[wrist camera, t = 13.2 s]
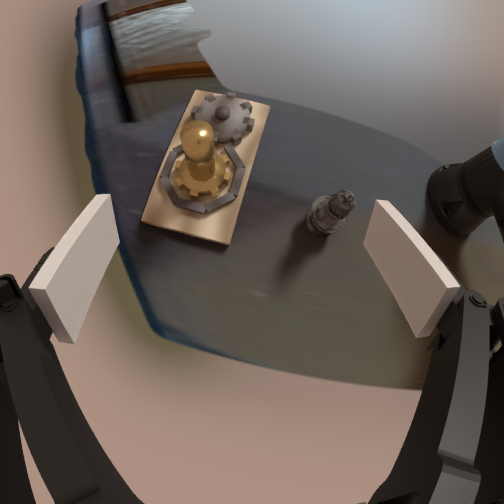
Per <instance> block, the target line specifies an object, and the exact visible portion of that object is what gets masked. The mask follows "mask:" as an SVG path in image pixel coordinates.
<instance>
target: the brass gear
mask: <svg viewBox="0 0 504 504" xmlns="http://www.w3.org/2000/svg"><path fill="white" fill-rule="evenodd" d="M180 140H181V144H182V148H183V151H184V155H185V158H184V159H183V160H182V161H179V160H177V161H176V164H175V166H174V168H175V170H176V172H179V176H180V177H179V178H177V179H175V181H176V184H177V186H178V188H179V189H180V190H182V189H184V188H185V189H186V190H187V191H189V192H190V194H189V195H190V198H191V199H194V200H199V197H200V196H204V195H209V194H210V195H211V197H212V198H215V197H217V196H219V195H220V192H219V188H220V187H221V186H222V185H223V183H225V184H229V182H230V179H231V173H230V172H226V167H227V166H229V159H228V157H227V155H226V154H225V155H223V156H220V155H219V154H218V153H216V152H215V147H214V134H213V128H212V127H211V125H210V124H208V123H207V122H205V121H200V120H196V121H191V122H189V123H187V124H186V125H185V126H184V127H183V128H182V129H181V131H180Z"/></svg>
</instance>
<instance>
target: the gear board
mask: <svg viewBox="0 0 504 504" xmlns="http://www.w3.org/2000/svg"><path fill="white" fill-rule="evenodd" d="M235 96H236V93H231V92H228V93H227V95H221V94H216V93H211V92H206V91H200V90H196V91H195V93H194V95H193V97H192V99H191V101H190V103H189V105H188V107H187V109H186V111H185V113H184V115H183V117H182V119H181V121H180V123H179V126H178V128H177V130H176V132H175V134H174V137H173V139H172V141H171V144H170V146H169V148H168V151H167V153H166V155H165V158H164V160H163V162H162V165H161V167H160V170H159V172H158V175H157V177H156V180H155V183H154V185H153V188H152V191H151V193H150V196H149V199H148V201H147V204H146V207H145V210H144V213H143V216H142V218H141V221H142V222H143V223H147V224H150V225H154V226H158V227H161V228H165V229H169V230H172V231H176V232H180V233H183V234H187V235H191V236H194V237H198V238H201V239H205V240H209V241H212V242H216V243H220V244H223V245H227V246H229V245H230V241H231V238H232V234H233V231H234V227H235V224H236V220H237V217H238V213H239V210H240V206H241V203H242V199H243V196H244V193H245V189H246V186H247V182H248V179H249V176H250V172H251V169H252V166H253V162H254V159H255V156H256V152H257V149H258V146H259V142H260V139H261V136H262V133H263V129H264V126H265V123H266V120H267V116H268V113H269V110H270V106H268V105H265V104H261V103H257V102H253V101H249V100H244V99H240V98H236V97H235ZM196 120H200V121H205V122H207V123H208V124H210V125H211V127H212V128H213V134H214V147H215V152H216V153H218V154H219V155H220V156H223V155H225V154H226V155H227V157H228V159H229V166H227V167H226V172H230V173H231V179H230V182H229V184H225V183H223V185H222V186H221V187H220V188H219V192H220V195H219V196H217V197H215V198H212V197H211V195H210V194H209V195H204V196H200V197H199V200H194V199H191V198H190V195H189V194H190V192H189V191H187V190H186V189H185V188H184V189H182V190H180V189H179V188H178V186H177V184H176V181H175V179H177V178H179V177H180V176H179V172H176V170H175V168H174V166H175V164H176V161H177V160H179V161H182V160H183V159H184V158H185V155H184V151H183V148H182V144H181V140H180V131H181V129H182V128H183V127H184V126H185V125H186V124H187V123H189V122H191V121H196Z"/></svg>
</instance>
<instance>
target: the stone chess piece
mask: <svg viewBox="0 0 504 504" xmlns="http://www.w3.org/2000/svg"><path fill="white" fill-rule="evenodd" d="M355 204H356V199H355V196H354V195H353V193H352V192H350V191H349V190H341V191H339V192H338V193H337V194H334V195H331V196H322V197H319V198H317V199H316V200H315V201H314V202H313V204H312V206H311V208H310V209H309V210H308V212H307V214H306V224H307V226H308V228H309V229H310V231H311V232H312V233H314V234H315V235H318V236H328V235H330V234H331V233H336V232H338V231H340V230H341V229H342V228H343V227H344V225H345V223H346V217H347V216H348V214H349V211H350V210H352V209H353V208H354V206H355Z"/></svg>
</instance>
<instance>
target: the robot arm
mask: <svg viewBox="0 0 504 504" xmlns="http://www.w3.org/2000/svg"><path fill="white" fill-rule="evenodd" d="M429 198H430V202H431V206H432V208H433V211H434V213H435V215H436V217H437V219H438V220H439V222H440V223H441V225H442V226H443V227H444V228H445V229H446V230H447V231H448V232H450V233H452V234H454V235H457V236H462V235H466V234H469V233H471V232H473V231H474V230H475V229H476V228H477V227H478V226H479V225H480V224H481V223H482V222H483V221H484V220H485V219H486V218H488V217H491V216H494V217H495V219H496V222H497V225H498V227H499V230H500V233H501V236H502V239H503V242H504V138H503V139H501V140H499V141H495V142H494V143H492V146H490V147H489V148H487V149H485V150H484V151H482V152H480V153H479V154H477V155H475V156H474V157H472V158H470V159H469V160H467V161H466V162H464V163H457V164H450V165H444V166H442V167H440V168H438V169H437V170H435V171H434V172H433V173H432V175H431V177H430V180H429ZM119 242H120V241H119V237H118V232H117V227H116V223H115V218H114V212H113V207H112V201H111V196H110V194H102V195H96V196H95V197H94V199H93V200H92V201H91V202H90V203H89V204H88V206H87V207H86V208H85V209H84V210H83V212H82V213H81V214H80V216H79V217H78V218H77V219H76V220H75V222H74V223H73V224H72V226H71V227H70V228H69V230H68V231H67V232H66V234H65V235H64V236H63V237H62V239H61V240H60V242H59V243H58V244H57V246H56V247H52V248H51V249H50V250H48V251H47V252H46V253H45V254H44V255H43V256H42V258H41V259H40V261H39V262H38V264H37V265H36V266H35V268H34V271H32V272H31V274H30V275H29V277H28V278H27V280H26V281H25V283H24V285H23V286H22V288H21V289H20V288H19V286H18V284H17V282H16V280H15V278H14V276H13V275H11V274H4V275H1V276H0V504H36V502H35V499H34V496H33V492H32V489H31V485H30V481H29V478H28V473H27V469H26V465H25V460H24V455H23V450H22V444H21V438H20V431H19V425H18V420H19V422H20V426H21V428H22V431H23V434H24V437H25V439H26V442H27V445H28V447H29V449H30V452H31V455H32V457H33V459H34V461H35V464H36V466H37V468H38V470H39V472H40V474H41V477H42V479H43V481H44V483H45V485H46V487H47V488H48V490H49V492H50V494H51V496H52V498H53V500H54V502H55V504H144V503H143V502H142V501H141V500H139V499H138V498H137V497H136V495H135V494H134V493H133V492H132V491H131V489H130V488H129V486H128V485H127V484H126V483H125V481H124V480H123V478H122V477H121V475H120V474H119V473H118V471H117V470H116V468H115V467H114V465H113V464H112V462H111V461H110V459H109V458H108V456H107V455H106V453H105V452H104V450H103V448H102V447H101V445H100V443H99V442H98V440H97V438H96V437H95V435H94V433H93V431H92V430H91V428H90V426H89V424H88V422H87V420H86V419H85V417H84V415H83V413H82V411H81V409H80V407H79V405H78V403H77V401H76V399H75V397H74V395H73V393H72V390H71V388H70V386H69V384H68V381H67V379H66V377H65V375H64V372H63V370H62V367H61V365H60V362H59V360H58V357H57V355H56V352H55V349H54V346H53V344H52V343H51V341H50V337H51V335H52V332H53V333H54V335H55V336H56V338H57V339H58V341H59V342H64V343H70V344H75V342H76V340H77V337H78V334H79V332H80V329H81V326H82V324H83V321H84V318H85V316H86V314H87V311H88V309H89V307H90V304H91V301H92V299H93V297H94V295H95V293H96V290H97V288H98V286H99V283H100V281H101V279H102V277H103V275H104V273H105V270H106V268H107V266H108V264H109V262H110V260H111V258H112V256H113V254H114V252H115V250H116V248H117V246H118V244H119ZM363 245H364V247H365V248H366V250H367V251H368V253H369V255H370V256H371V258H372V260H373V261H374V263H375V264H376V266H377V268H378V270H379V271H380V273H381V275H382V276H383V278H384V280H385V281H386V283H387V285H388V287H389V288H390V290H391V292H392V294H393V296H394V297H395V299H396V301H397V303H398V305H399V306H400V308H401V310H402V312H403V314H404V316H405V318H406V320H407V322H408V323H409V325H410V327H411V329H412V331H413V333H414V335H415V337H416V338H421V337H426V336H430V334H431V333H432V331H433V330H434V328H435V327H436V326H437V328H438V329H439V331H440V332H439V333H438V335H437V336H436V337H435V339H434V340H433V341H432V343H431V344H430V346H429V347H428V349H427V350H430V349H431V348H432V347H433V346H434V348H433V351H432V357H431V361H430V365H429V369H428V373H427V376H426V380H425V383H424V387H423V390H422V394H421V397H420V400H419V403H418V406H417V409H416V412H415V415H414V418H413V420H412V423H411V426H410V429H409V431H408V434H407V436H406V439H405V441H404V444H403V446H402V448H401V451H400V453H399V456H398V458H397V460H396V462H395V464H394V466H393V469H392V471H391V473H390V475H389V476H388V478H387V479H386V481H385V482H384V483H382V485H380V486H379V488H378V489H377V490H376V491H375V493H374V494H373V496H372V497H371V499H370V501H369V502H368V504H504V298H503V297H502V298H500V299H499V300H498V302H497V303H496V305H495V306H493V305H489V304H488V303H487V301H486V300H485V298H484V297H483V296H482V295H481V294H479V293H478V292H476V291H473V290H467V291H466V289H465V288H464V286H463V285H462V284H461V282H460V281H459V280H458V278H457V277H456V276H455V274H454V273H453V272H452V271H451V269H450V268H449V267H448V265H446V263H445V262H444V260H443V259H442V258H441V257H440V256H439V255H438V254H437V253H435V252H434V251H433V250H432V249H431V248H430V247H429V246H428V244H427V243H426V242H425V241H424V240H423V239H422V237H421V236H420V235H419V234H418V233H417V232H416V231H415V229H414V228H413V227H412V226H411V225H410V224H409V223H408V222H407V220H406V219H405V218H404V217H403V216H402V215H401V214H400V213H399V212H398V211H397V210H396V209H395V208H394V206H393V205H392V204H391V203H390V202H389V201H384V200H376V202H375V205H374V209H373V213H372V216H371V220H370V223H369V226H368V230H367V233H366V236H365V240H364V243H363ZM500 340H501V343H502V346H501V348H500V349H499V350H498V351H497V352H495V346H496V345H497V344H498V343H499V342H500ZM360 504H366V502H363V503H360Z"/></svg>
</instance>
